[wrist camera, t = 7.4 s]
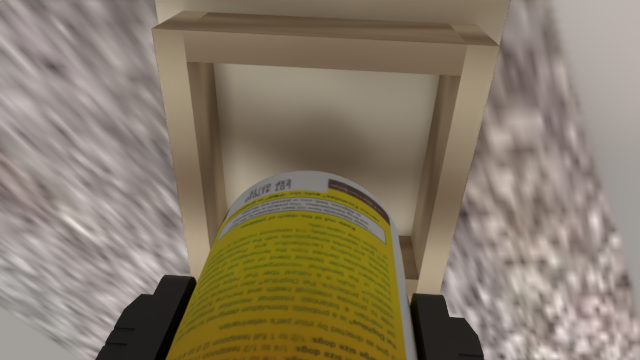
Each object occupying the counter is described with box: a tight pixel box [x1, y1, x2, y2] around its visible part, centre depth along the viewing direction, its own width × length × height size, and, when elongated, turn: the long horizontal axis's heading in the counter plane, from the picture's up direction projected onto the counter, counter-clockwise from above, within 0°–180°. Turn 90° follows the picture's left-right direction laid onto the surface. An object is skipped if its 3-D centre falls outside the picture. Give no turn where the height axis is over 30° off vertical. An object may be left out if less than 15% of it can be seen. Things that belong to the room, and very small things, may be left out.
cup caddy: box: [152, 0, 510, 304], centre depth 18 cm, size 19×13×4 cm
